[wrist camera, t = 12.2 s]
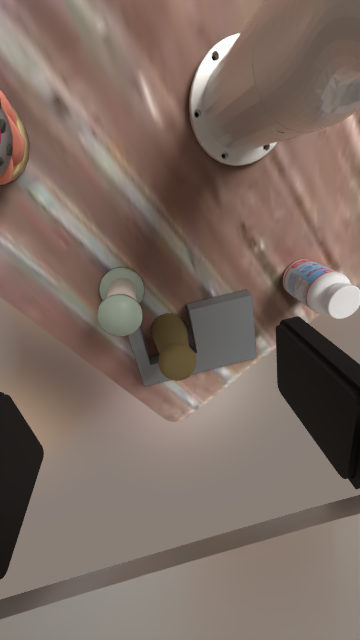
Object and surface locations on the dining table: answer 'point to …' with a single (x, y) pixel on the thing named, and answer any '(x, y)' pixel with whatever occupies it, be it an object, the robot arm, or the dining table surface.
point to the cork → (173, 347)
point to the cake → (11, 143)
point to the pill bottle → (321, 289)
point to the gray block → (208, 336)
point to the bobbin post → (120, 302)
